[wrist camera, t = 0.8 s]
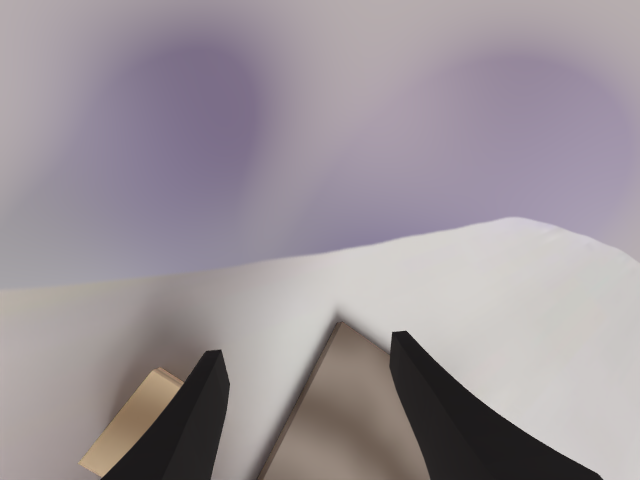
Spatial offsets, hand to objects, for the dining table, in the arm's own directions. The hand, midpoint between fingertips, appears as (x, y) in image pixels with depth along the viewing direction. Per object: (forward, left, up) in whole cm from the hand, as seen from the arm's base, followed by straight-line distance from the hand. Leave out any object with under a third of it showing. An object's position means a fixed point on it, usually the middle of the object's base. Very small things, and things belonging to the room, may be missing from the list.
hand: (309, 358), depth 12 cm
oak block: (-7, +3, -14) cm, 15 cm away
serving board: (-2, -12, -14) cm, 18 cm away
